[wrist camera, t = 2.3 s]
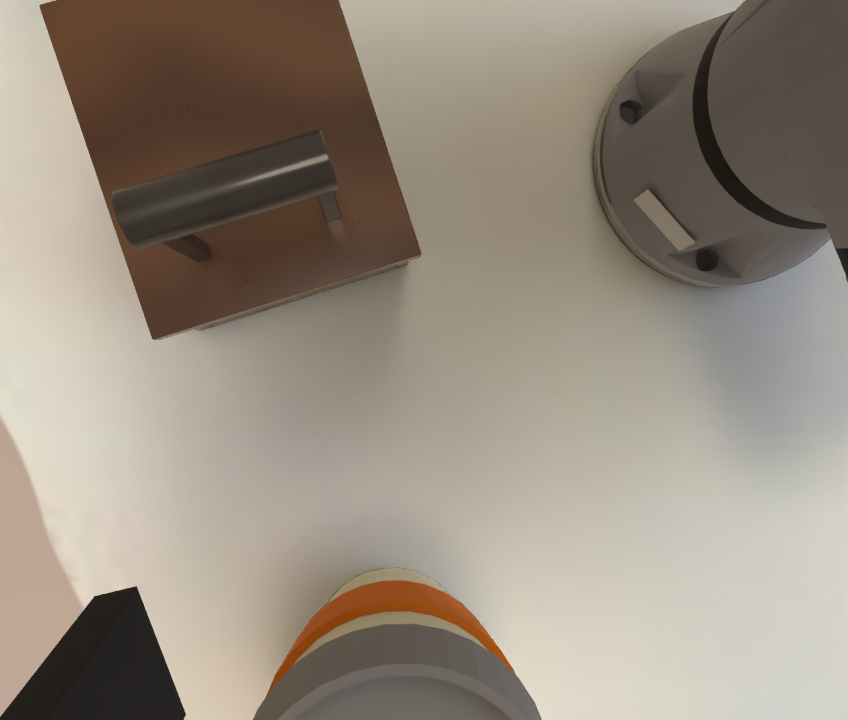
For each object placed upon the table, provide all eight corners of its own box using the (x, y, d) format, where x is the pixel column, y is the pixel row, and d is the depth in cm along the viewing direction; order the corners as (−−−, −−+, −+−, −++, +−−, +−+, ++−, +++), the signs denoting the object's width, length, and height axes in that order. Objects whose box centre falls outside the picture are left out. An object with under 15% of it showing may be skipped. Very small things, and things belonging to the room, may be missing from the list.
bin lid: (420, 257, 30) (439, 212, 21) (158, 340, 29) (57, 333, 20) (316, -61, 30) (288, -250, 20) (47, 14, 29) (-108, -147, 20)
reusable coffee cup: (257, 573, 37) (176, 720, 22) (462, 510, 38) (518, 609, 23) (317, 777, 38) (278, 1056, 23) (520, 709, 38) (612, 935, 23)
